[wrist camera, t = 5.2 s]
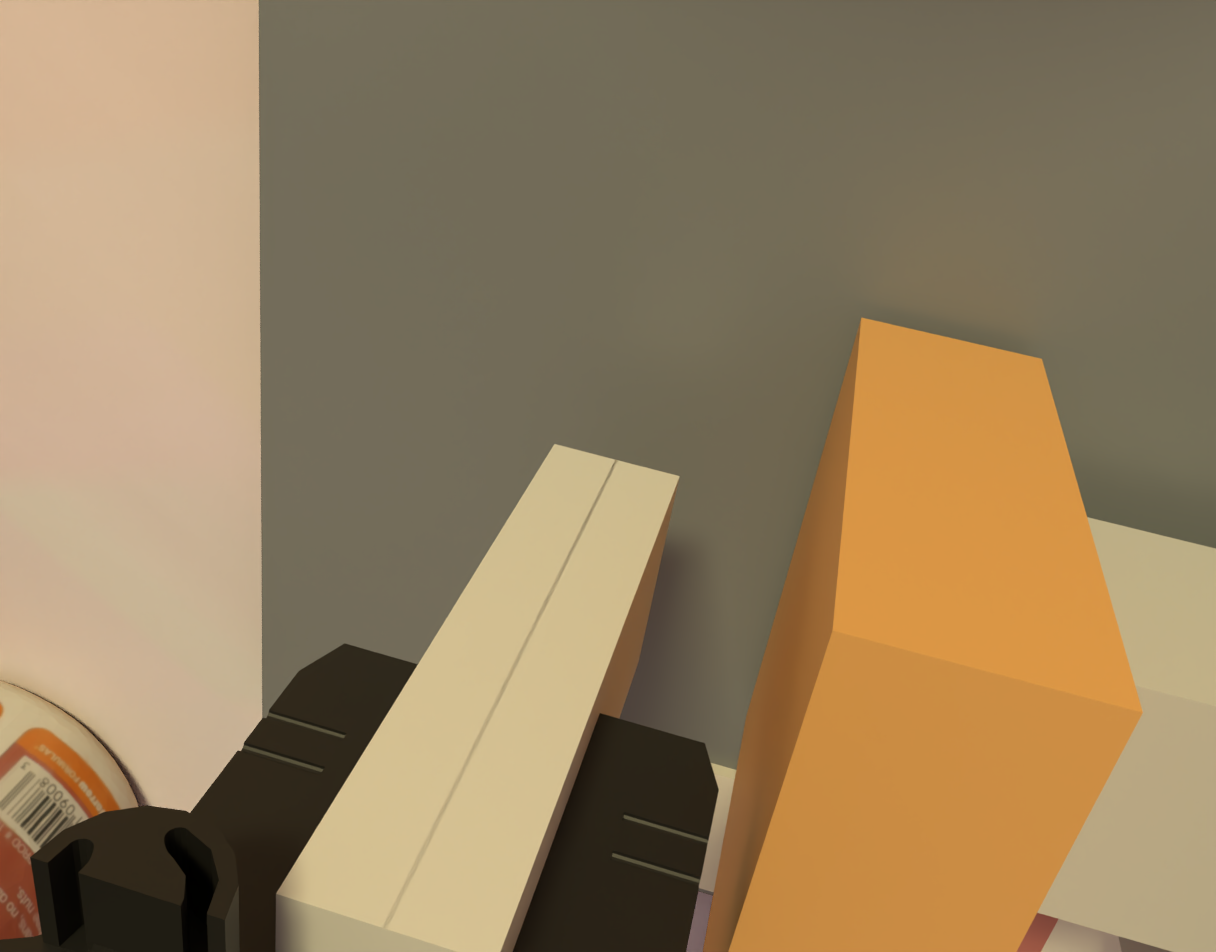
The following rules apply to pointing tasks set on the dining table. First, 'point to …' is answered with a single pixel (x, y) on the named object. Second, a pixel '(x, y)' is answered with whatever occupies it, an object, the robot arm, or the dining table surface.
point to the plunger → (971, 688)
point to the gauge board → (703, 287)
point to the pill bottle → (45, 794)
